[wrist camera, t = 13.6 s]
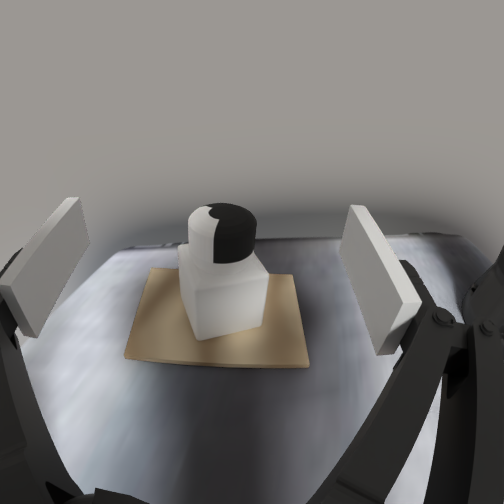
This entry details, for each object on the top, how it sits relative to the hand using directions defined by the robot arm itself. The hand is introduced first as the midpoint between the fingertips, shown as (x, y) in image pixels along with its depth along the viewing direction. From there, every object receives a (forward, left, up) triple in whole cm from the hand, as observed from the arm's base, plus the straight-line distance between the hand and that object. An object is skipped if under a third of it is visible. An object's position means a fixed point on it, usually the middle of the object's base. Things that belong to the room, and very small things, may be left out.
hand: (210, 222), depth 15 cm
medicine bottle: (0, -12, -18) cm, 22 cm away
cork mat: (0, -12, -18) cm, 22 cm away
